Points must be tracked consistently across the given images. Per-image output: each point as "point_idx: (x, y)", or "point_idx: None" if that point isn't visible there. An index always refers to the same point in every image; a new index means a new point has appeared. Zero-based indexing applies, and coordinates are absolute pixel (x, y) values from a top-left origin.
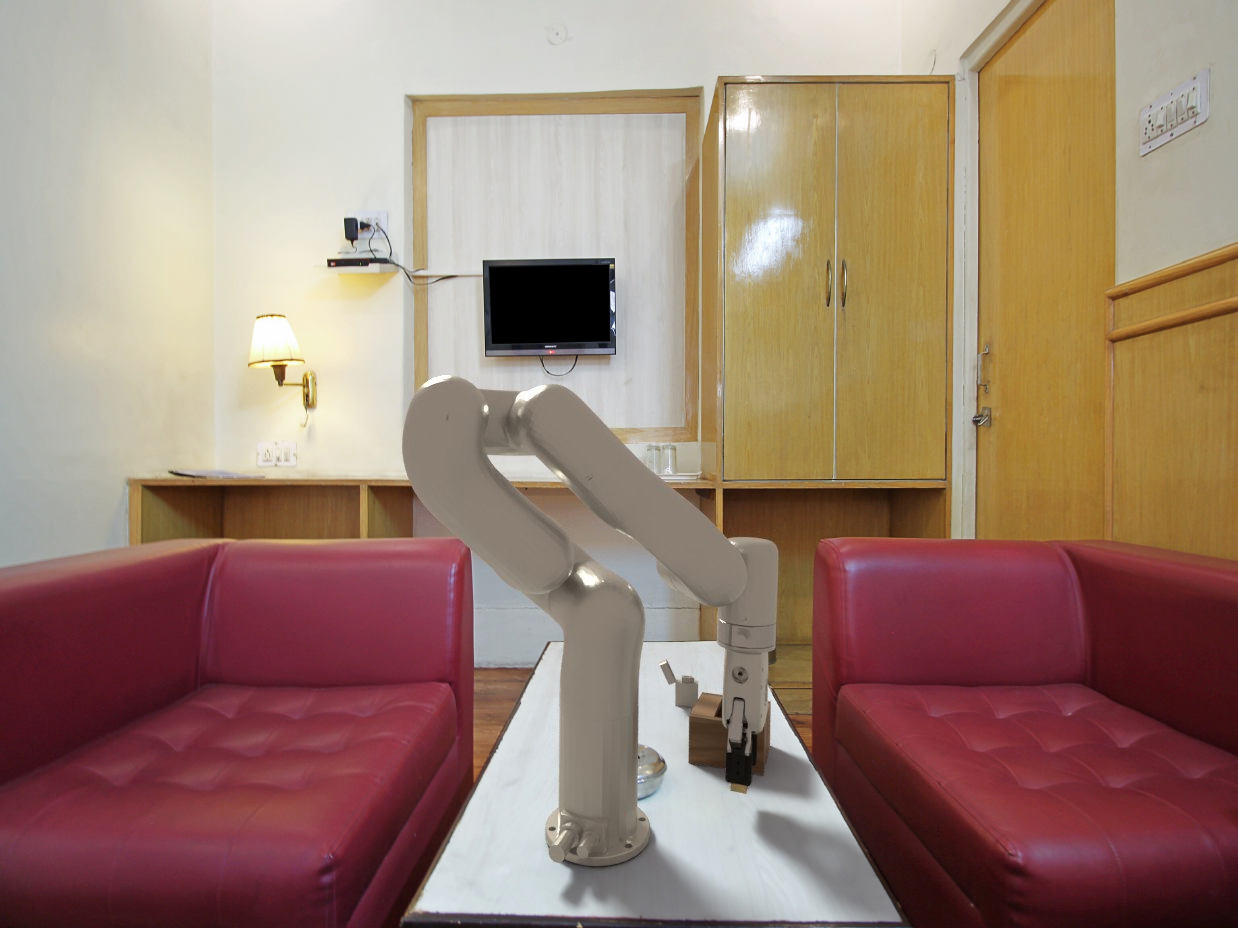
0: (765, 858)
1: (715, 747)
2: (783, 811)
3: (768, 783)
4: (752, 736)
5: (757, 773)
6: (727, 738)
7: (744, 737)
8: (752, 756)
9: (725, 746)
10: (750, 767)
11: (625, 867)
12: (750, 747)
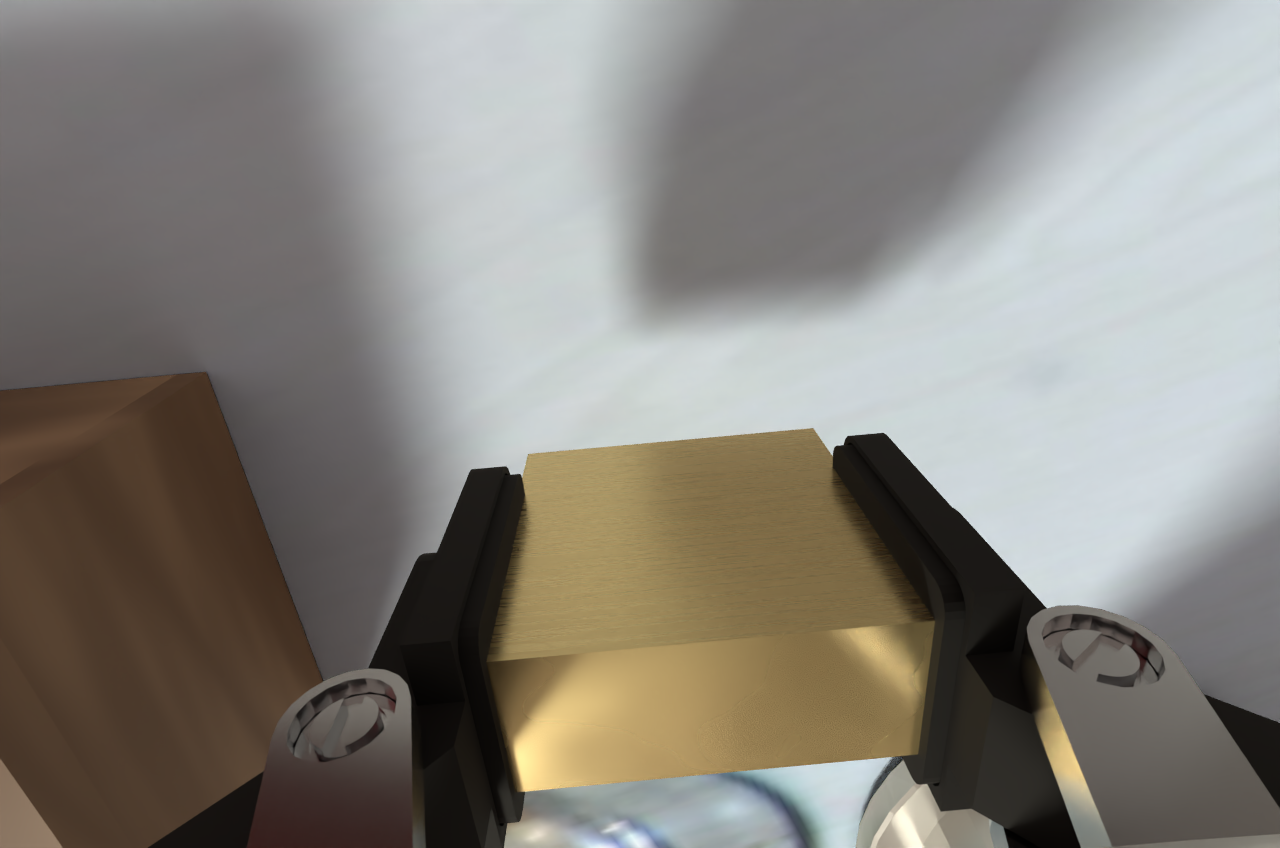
0: (1104, 190)
1: (248, 725)
2: (584, 167)
3: (285, 323)
4: (464, 677)
5: (217, 412)
6: (175, 730)
7: (514, 730)
8: (512, 529)
9: (215, 689)
10: (946, 514)
11: (1224, 684)
12: (663, 620)
